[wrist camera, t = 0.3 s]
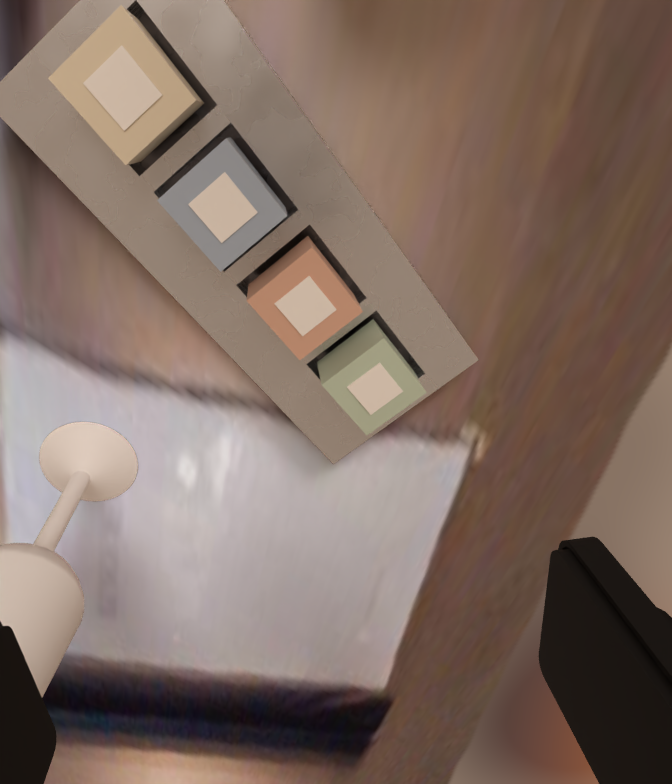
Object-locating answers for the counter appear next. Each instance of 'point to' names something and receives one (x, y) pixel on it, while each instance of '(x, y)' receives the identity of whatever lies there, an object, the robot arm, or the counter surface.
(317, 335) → the key
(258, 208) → the key
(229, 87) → the keyguard pad
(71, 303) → the counter surface
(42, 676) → the champagne flute
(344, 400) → the key
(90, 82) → the key
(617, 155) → the counter surface
